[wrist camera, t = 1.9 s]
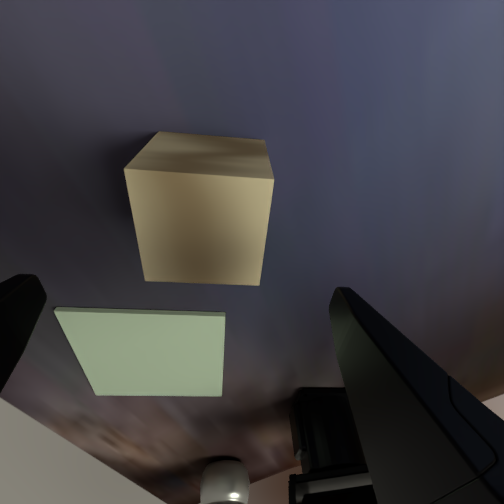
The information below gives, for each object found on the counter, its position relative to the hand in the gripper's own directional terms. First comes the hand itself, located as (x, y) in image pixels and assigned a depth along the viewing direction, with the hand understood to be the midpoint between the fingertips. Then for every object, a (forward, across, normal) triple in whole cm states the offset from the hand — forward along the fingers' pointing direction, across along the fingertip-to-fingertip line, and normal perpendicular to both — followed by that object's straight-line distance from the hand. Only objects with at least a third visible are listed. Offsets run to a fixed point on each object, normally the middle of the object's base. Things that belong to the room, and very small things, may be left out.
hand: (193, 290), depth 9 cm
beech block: (+8, 0, 0) cm, 8 cm away
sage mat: (+8, +5, +16) cm, 18 cm away
